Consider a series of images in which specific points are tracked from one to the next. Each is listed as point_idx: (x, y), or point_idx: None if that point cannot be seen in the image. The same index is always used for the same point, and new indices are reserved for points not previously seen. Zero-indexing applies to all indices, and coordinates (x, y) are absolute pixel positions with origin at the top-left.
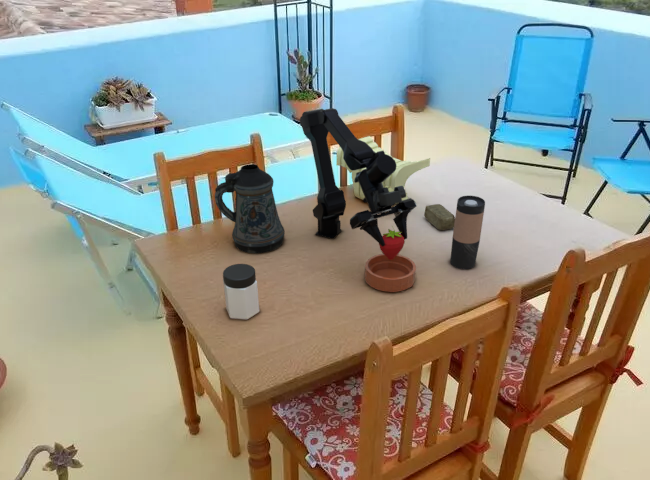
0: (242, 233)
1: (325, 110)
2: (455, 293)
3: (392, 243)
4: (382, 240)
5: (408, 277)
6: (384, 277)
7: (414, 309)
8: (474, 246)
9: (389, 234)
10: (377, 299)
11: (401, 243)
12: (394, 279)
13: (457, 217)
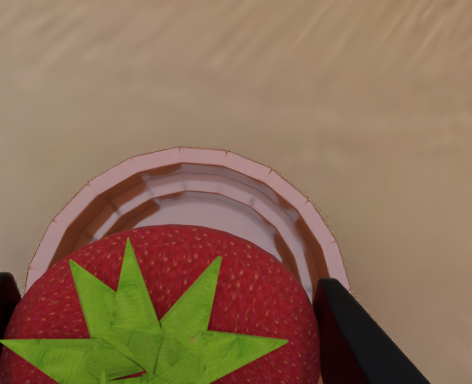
0: None
1: None
2: (13, 36)
3: (235, 248)
4: (356, 312)
5: (175, 148)
6: (303, 212)
7: (252, 41)
8: None
9: (205, 372)
10: (347, 185)
11: (120, 232)
12: (264, 165)
13: None
